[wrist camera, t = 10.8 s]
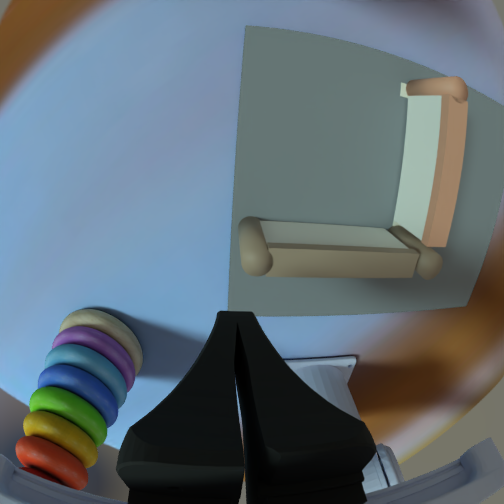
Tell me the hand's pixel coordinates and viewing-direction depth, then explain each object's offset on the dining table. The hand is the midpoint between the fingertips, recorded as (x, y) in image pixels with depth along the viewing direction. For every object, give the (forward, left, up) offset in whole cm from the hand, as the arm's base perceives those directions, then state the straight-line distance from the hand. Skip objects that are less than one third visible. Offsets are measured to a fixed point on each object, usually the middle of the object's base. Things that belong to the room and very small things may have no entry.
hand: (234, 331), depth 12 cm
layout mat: (+4, -12, -9) cm, 16 cm away
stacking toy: (-10, +11, -10) cm, 18 cm away
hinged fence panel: (+7, -12, -9) cm, 16 cm away
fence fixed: (+1, -7, -9) cm, 12 cm away
